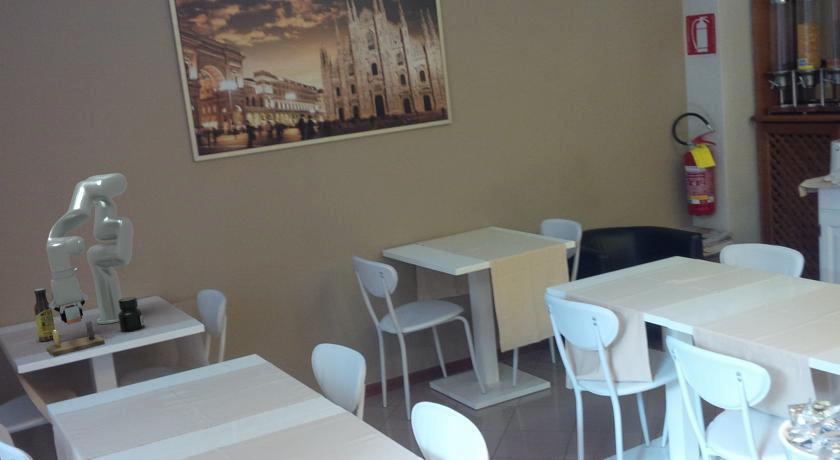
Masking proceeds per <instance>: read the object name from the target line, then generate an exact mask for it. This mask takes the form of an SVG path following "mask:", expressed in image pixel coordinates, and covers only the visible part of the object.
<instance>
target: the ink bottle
mask: <svg viewBox="0 0 840 460" xmlns="http://www.w3.org/2000/svg"><path fill="white" fill-rule="evenodd" d="M118 302H119V308H120V310H121V311H120V313H119V314H118V318H119V322H118V323H119V329H120V331H121V332H126V333H127V332H133V331H137V330H141V329H143V328H144V327H145V322H144V315H143V311H142V309H139V303H138V299H137V296H128V297H127V296H126V297H124V298H123V297H122V299H120V300H119V301H118Z"/></svg>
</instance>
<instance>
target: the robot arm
mask: <svg viewBox="0 0 840 460" xmlns="http://www.w3.org/2000/svg"><path fill="white" fill-rule="evenodd" d="M127 188H128V180H127V178H126V176H125V175H124V174H122V173H119V172H118V173H117V172H114V173H107V174H105V173H103V174H98V175H97V174H96V175H93V176H90V177H89V176H88V177H87V178H86V179H85V180H84V179H83V180H81V181H79V182H77V183H76V185H75V188H74V190H73V194H72V198H71V200H70V202H69V203H70V204H69V207H68V210H67V212H66V213H64V214H63V215H62V216H61V217H60V218H59V219H58V220H57V221H56V222H55V224H53V226H52V227H51V229H50V231H49V233H48V238H47V241H46V247H45V250H46V255H47V259H48V264H49V267H50V272H51V277H52V279H50V290H51V297H52V298H51V300H50V302H49V306H48V307H49V308H51V309H52V310H54V311H55V312H57V313H59V315H60V320H61V322H63V323H64V324H67V320H66V316H65V313H64V311H63V309H64V306H67V305H71V304H76V305H78V307H79V311H80V316H81V320H82V319H83V316H84V313H83V307H84V305H85V303H86V302H87V301H88V300H89V298H90V297H89V295H88V294H86V293H85V292H83V290H82V289H81V286H80V282H79V279H78V276H77V275H76V274H75V273H76V272H78V268H77V267H73V264H72V259H71V258H73V257H78V256H81V255H83V253H84V252H85V250H86V248H87V244H86V241H85V239H84V238H83V237H81V236H78V235H77V236H76V235H73V236H72V235H71V236H66V235H67V234H68V233H69V232H70V231H72V230H74V229H76V228H78V227H80V226H81V225H83V224H85V223H87V222H88V221H89V220H90V218H91V216H92V212H93V209H95V210H94V221H93V238H94V239H95V241H97V242H102V243H100V244H99V243H98V244H95V245H92V246H90V247H89V248H88V249H87V251H86V259H87V262H88V264H89V265H88V266H89V268H90V269H91V270H90V271H91V274H92V278H93V283H94V290H95V295H96V299H97V305H98V311H99V317H98V318H97V319H96V322H97V324H98V325H99V324H100V325H106V324H107V325H108V324H113V323H119V318H118V314H119V313H120V311H121V310H120V308H119V302H118V301H119V300H120V299H123V297H122V296H123V295H122V291H121V285H120V279H119V275H118V273H117V271H116V270H115V268H113V267H123V266H127V265H128V264H129V263H130V262H131V260H132V255H133V242H134V225H133V222H132V220H131V219H130V218H128V217H126V216H118V206H117V203H115V201H114V200H113V198H115V197H118V196H120V195H122V194H124V193H125V192H126V191H127ZM103 242H108V243H103ZM109 242H110V243H109ZM55 305H56V306H55ZM57 306H58V307H57Z"/></svg>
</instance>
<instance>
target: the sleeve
mask: <svg viewBox="0 0 840 460" xmlns="http://www.w3.org/2000/svg"><path fill="white" fill-rule="evenodd" d="M63 311H64V313H65V316H66V320H67V323H66V324H67V325H71V324H75V323H79V322H81V321H82V319H81V316H80V311H79V307H78V305H77V304H76V303H70V304H66V305H64V309H63Z"/></svg>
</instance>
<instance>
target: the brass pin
mask: <svg viewBox="0 0 840 460" xmlns="http://www.w3.org/2000/svg"><path fill="white" fill-rule="evenodd" d="M52 333H53V338H54V339H53V343H54V344H55V348H60V347H61V343H62V342H61V339H60V334H59V333H60V332H59V329H57V328H55V330H52ZM54 344H53V345H54Z"/></svg>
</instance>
